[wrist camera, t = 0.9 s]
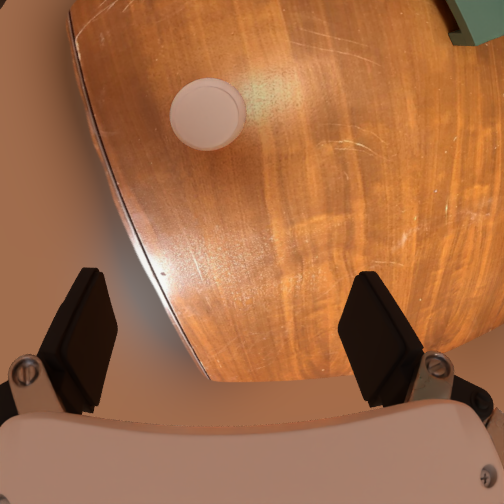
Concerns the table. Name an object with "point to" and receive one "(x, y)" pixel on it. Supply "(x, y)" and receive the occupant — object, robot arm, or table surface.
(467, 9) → the green toy chair
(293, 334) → the table surface
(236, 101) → the pill bottle
